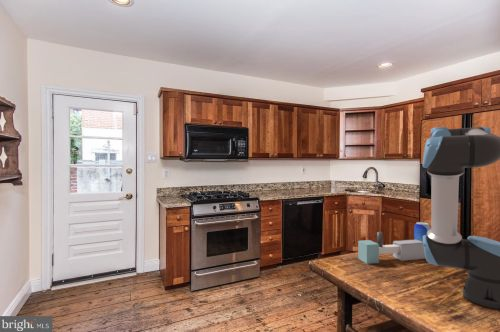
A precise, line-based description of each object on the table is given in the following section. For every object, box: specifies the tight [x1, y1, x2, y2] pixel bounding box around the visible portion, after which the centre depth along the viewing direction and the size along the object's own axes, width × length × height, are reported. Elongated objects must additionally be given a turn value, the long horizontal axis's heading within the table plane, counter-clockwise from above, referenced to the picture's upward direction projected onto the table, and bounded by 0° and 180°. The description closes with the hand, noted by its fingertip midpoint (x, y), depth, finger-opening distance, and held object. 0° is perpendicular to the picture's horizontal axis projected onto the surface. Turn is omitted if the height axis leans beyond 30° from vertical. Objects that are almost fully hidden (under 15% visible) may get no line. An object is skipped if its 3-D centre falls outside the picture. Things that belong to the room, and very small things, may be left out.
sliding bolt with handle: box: [376, 231, 400, 255], centre depth 150 cm, size 4×24×11 cm, turn 100°
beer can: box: [413, 221, 431, 242], centre depth 166 cm, size 8×8×16 cm
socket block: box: [357, 239, 380, 265], centre depth 148 cm, size 8×7×10 cm
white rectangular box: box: [392, 239, 426, 261], centre depth 152 cm, size 7×15×9 cm, turn 100°
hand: (439, 202), depth 142 cm, fingers closed
